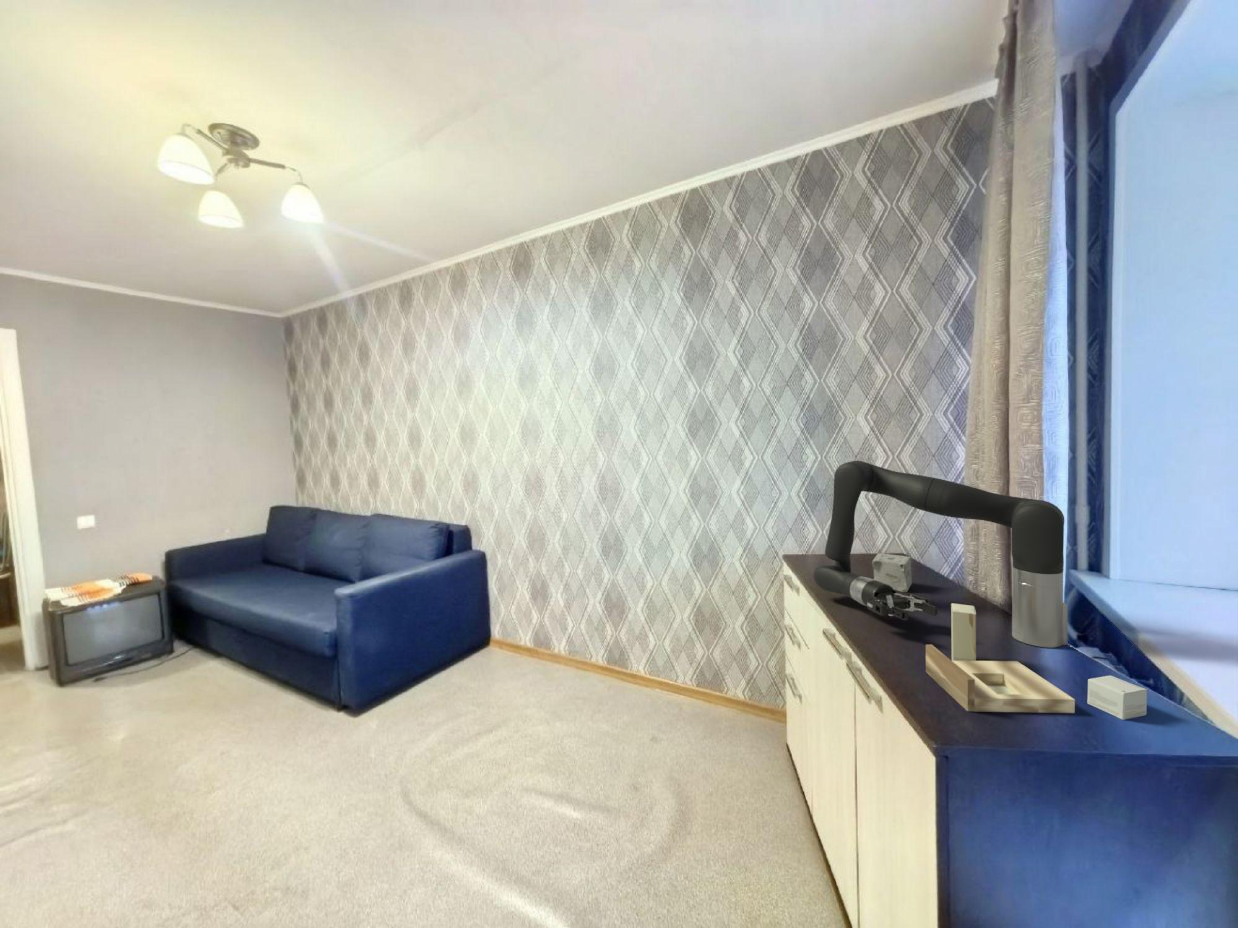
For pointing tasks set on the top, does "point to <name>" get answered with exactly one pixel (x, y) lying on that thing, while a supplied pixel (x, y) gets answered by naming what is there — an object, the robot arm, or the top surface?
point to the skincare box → (963, 632)
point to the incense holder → (893, 571)
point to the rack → (996, 685)
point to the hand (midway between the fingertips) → (921, 613)
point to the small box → (1117, 697)
